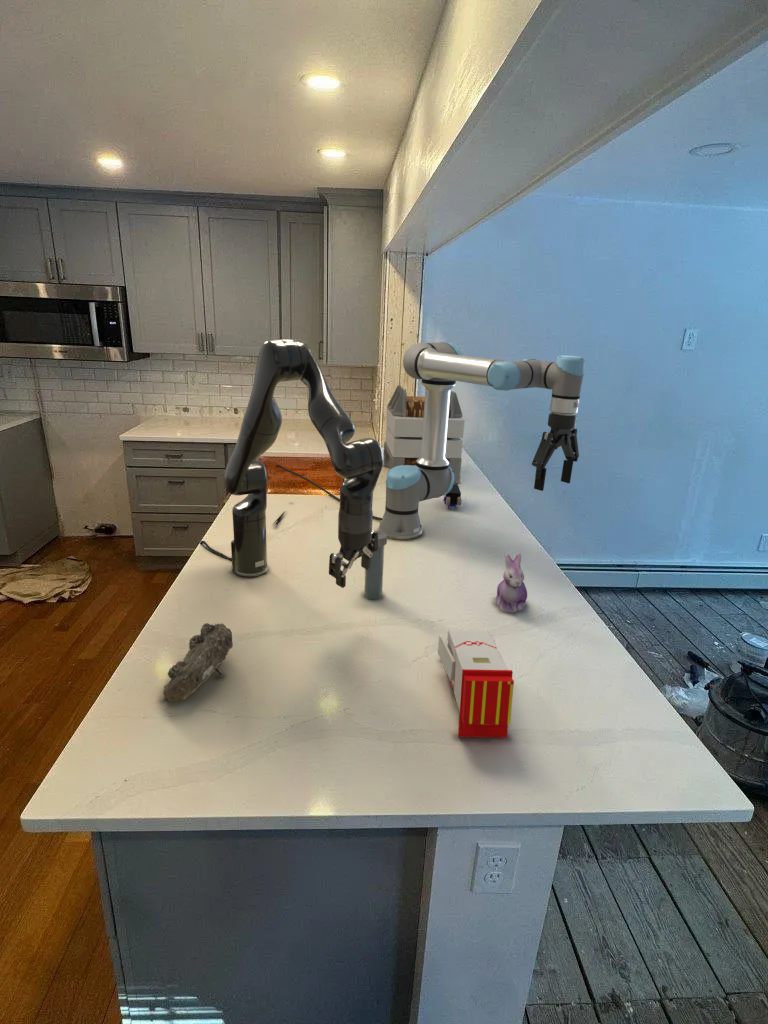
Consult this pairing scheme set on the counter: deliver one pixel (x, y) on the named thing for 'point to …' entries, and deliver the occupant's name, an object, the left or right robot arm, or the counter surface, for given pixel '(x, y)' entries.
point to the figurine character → (453, 497)
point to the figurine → (512, 586)
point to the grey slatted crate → (419, 431)
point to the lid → (381, 539)
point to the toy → (478, 682)
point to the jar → (375, 575)
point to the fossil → (199, 661)
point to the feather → (278, 519)
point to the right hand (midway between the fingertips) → (552, 485)
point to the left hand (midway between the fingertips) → (353, 576)
